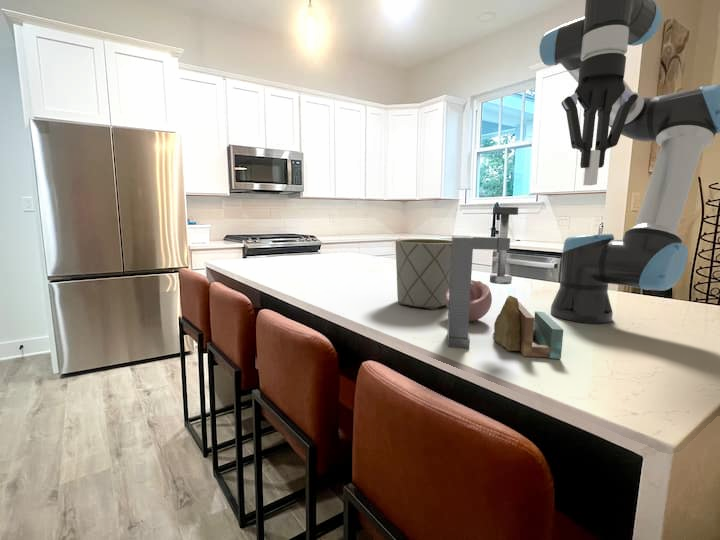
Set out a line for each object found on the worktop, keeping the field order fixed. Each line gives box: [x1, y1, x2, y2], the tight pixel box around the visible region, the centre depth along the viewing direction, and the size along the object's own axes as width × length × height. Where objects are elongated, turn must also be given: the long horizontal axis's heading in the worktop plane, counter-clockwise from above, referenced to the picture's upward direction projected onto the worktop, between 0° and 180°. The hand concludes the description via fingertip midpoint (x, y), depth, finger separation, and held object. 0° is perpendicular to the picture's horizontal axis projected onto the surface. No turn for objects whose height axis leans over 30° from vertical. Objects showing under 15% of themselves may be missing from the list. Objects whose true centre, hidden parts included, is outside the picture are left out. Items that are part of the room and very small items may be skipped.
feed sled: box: [518, 301, 564, 360], centre depth 82 cm, size 7×14×8 cm, turn 169°
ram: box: [489, 206, 519, 285], centre depth 81 cm, size 5×5×16 cm
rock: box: [492, 295, 521, 352], centre depth 83 cm, size 11×9×10 cm
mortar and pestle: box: [445, 279, 493, 322], centre depth 102 cm, size 12×12×11 cm
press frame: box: [446, 235, 511, 349], centre depth 84 cm, size 12×9×24 cm
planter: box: [395, 238, 452, 311], centre depth 120 cm, size 19×19×20 cm
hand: (589, 184), depth 76 cm, fingers closed
